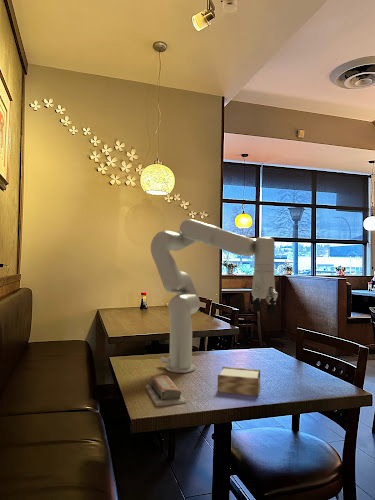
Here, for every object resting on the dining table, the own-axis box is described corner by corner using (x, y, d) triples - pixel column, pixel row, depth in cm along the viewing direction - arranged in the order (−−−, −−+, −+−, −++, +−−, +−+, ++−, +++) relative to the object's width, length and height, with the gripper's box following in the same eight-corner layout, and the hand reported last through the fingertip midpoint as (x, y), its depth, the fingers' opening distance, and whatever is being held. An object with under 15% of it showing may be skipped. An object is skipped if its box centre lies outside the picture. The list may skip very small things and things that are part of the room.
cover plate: (219, 380, 125) (219, 374, 125) (223, 373, 133) (223, 368, 134) (257, 384, 122) (257, 378, 122) (258, 376, 130) (258, 371, 130)
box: (217, 391, 124) (217, 375, 124) (222, 381, 135) (222, 366, 135) (258, 396, 120) (258, 379, 121) (260, 385, 131) (260, 370, 131)
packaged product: (145, 375, 127) (171, 373, 131) (144, 388, 127) (171, 386, 130) (156, 392, 110) (186, 389, 113) (156, 408, 110) (186, 404, 113)
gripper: (244, 268, 145) (243, 310, 144) (268, 269, 129) (267, 316, 128) (260, 268, 147) (260, 310, 147) (285, 269, 131) (284, 316, 131)
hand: (263, 313), depth 137 cm, fingers open, 9 cm apart
